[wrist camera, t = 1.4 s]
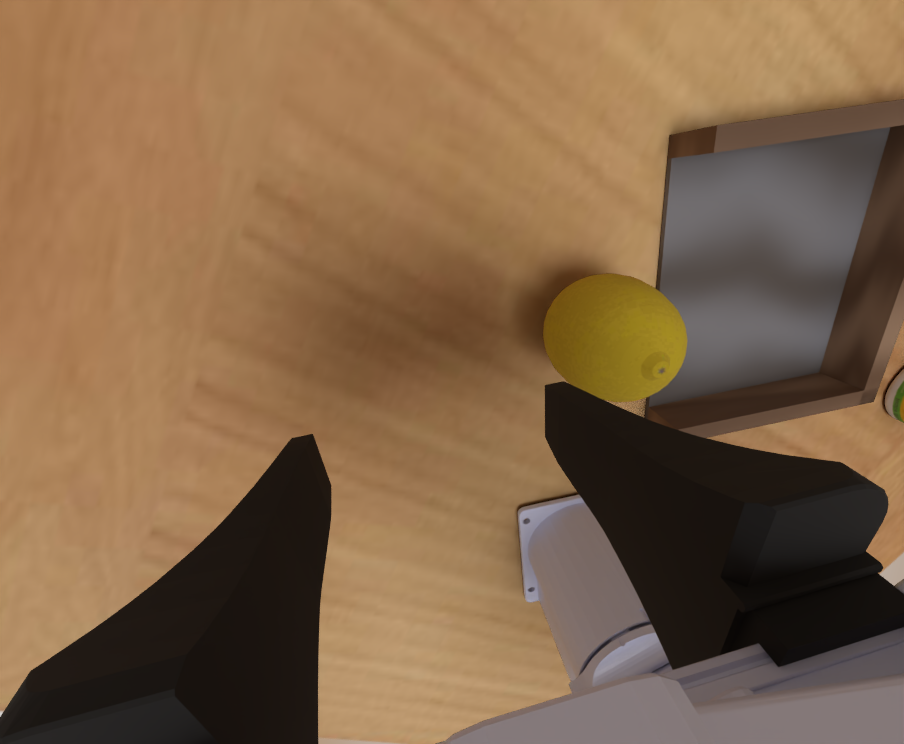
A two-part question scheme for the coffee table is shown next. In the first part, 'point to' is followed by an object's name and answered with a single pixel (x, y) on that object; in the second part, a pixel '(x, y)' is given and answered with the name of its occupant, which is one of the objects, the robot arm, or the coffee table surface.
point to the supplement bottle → (896, 398)
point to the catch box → (782, 266)
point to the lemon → (615, 337)
